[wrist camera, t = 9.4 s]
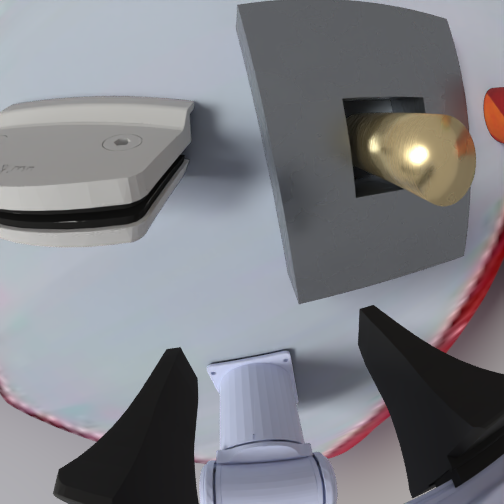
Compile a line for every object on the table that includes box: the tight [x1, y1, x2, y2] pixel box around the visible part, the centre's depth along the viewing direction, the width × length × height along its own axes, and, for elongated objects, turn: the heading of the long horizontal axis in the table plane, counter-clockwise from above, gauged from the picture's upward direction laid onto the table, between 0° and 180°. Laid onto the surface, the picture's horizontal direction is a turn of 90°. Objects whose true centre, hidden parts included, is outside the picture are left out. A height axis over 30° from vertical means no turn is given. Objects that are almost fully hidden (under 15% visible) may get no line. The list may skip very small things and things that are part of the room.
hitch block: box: [236, 0, 470, 304], centre depth 15 cm, size 18×14×4 cm
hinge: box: [0, 96, 194, 247], centre depth 12 cm, size 17×5×10 cm, turn 79°
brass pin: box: [346, 113, 476, 206], centre depth 13 cm, size 4×4×9 cm
